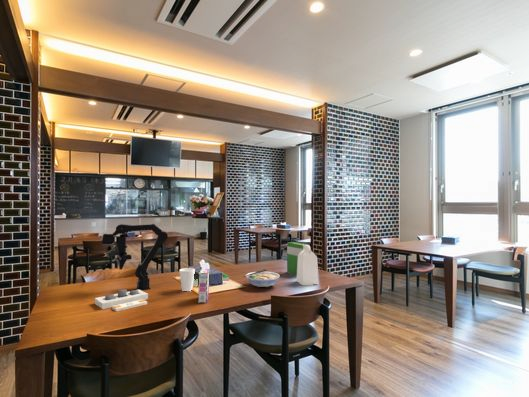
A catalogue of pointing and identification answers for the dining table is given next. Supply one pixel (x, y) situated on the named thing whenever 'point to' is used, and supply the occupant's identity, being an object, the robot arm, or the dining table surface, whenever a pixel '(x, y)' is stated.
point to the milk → (307, 267)
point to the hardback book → (293, 255)
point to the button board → (120, 299)
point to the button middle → (122, 293)
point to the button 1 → (109, 297)
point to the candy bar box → (203, 286)
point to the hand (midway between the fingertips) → (120, 269)
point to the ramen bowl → (262, 278)
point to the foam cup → (187, 278)
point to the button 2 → (133, 292)
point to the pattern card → (129, 305)
